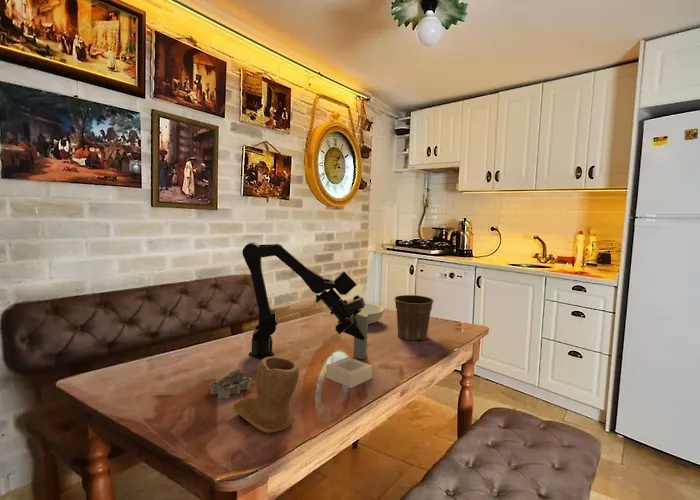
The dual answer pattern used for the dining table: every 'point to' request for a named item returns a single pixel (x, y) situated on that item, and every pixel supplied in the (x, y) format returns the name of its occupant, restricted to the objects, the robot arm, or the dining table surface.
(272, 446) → the dining table surface
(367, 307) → the serving bowl
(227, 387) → the egg carton
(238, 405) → the tan boot
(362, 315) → the post
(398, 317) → the plant pot
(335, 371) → the collar
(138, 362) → the dining table surface
